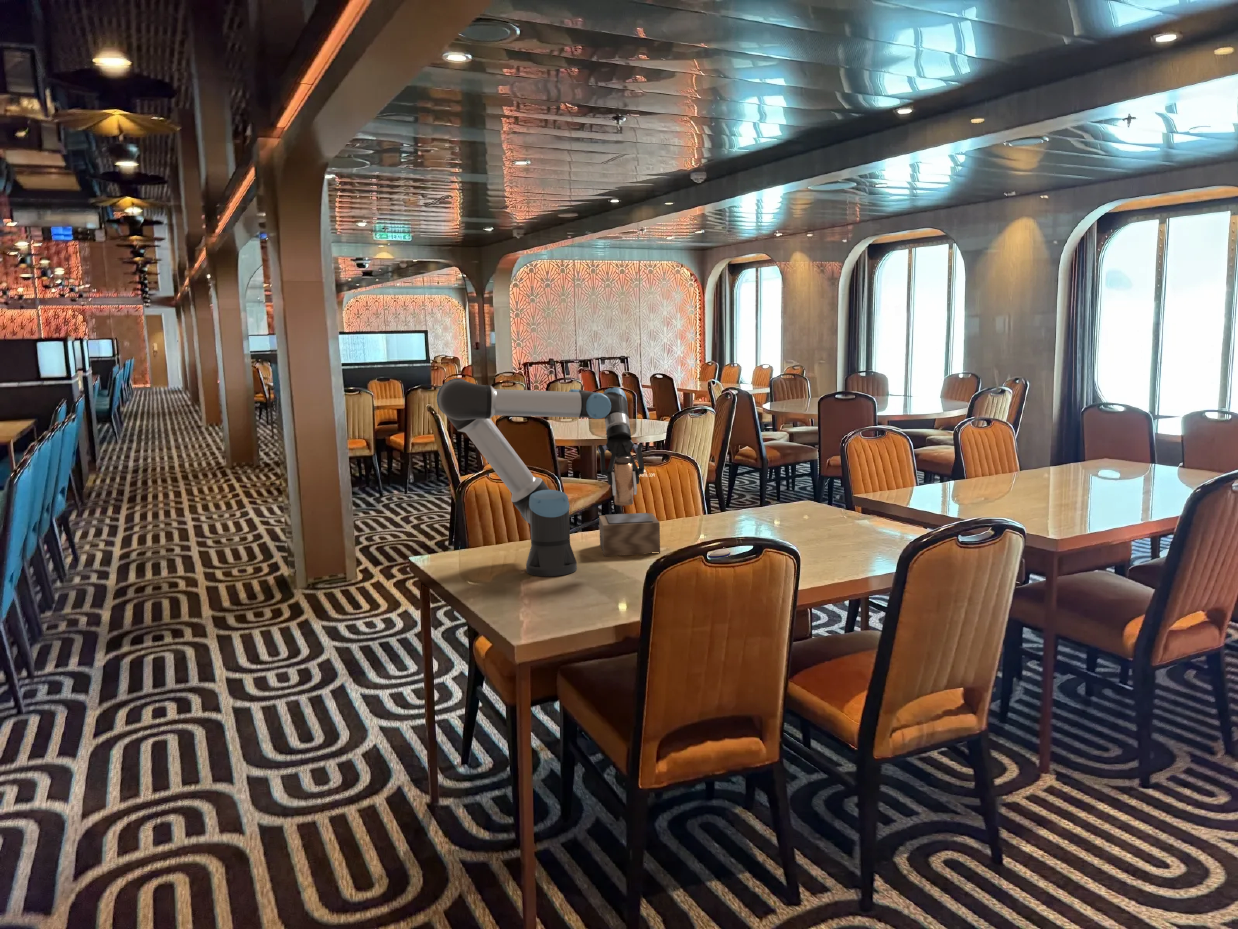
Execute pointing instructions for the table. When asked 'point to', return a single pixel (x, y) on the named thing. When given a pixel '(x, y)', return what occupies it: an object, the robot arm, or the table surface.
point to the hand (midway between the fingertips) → (625, 492)
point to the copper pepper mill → (623, 480)
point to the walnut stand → (629, 534)
